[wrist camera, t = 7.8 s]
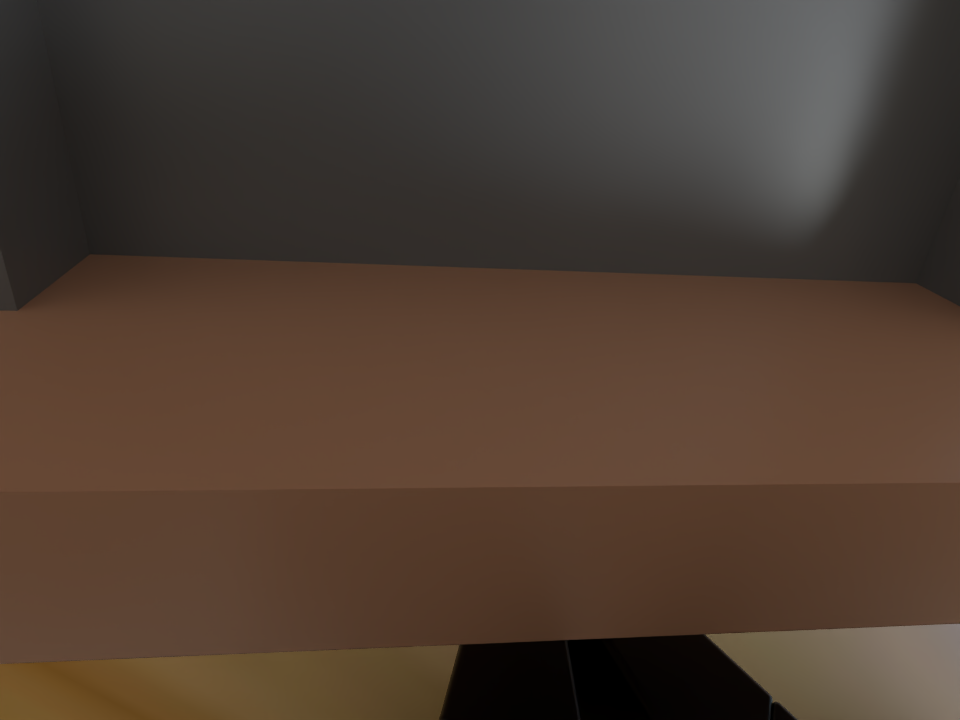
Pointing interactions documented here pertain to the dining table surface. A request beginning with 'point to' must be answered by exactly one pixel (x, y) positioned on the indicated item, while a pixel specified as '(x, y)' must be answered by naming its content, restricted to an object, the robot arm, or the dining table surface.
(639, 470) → the tray
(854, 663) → the dining table surface
